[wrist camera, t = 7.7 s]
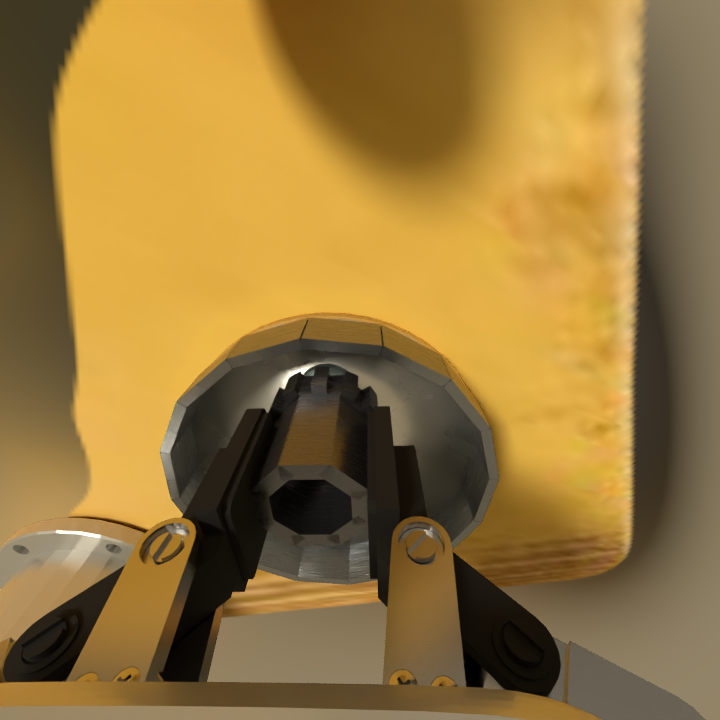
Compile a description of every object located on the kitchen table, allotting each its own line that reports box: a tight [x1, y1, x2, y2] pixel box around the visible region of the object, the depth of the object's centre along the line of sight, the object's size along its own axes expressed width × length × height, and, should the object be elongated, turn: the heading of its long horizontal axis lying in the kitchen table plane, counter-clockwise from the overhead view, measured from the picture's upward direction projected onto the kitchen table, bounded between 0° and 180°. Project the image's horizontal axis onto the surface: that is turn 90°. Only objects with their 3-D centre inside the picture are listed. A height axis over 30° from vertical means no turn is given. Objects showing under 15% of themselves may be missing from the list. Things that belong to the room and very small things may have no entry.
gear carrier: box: [160, 313, 499, 585], centre depth 15 cm, size 14×14×5 cm
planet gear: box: [250, 367, 378, 546], centre depth 11 cm, size 4×4×4 cm
